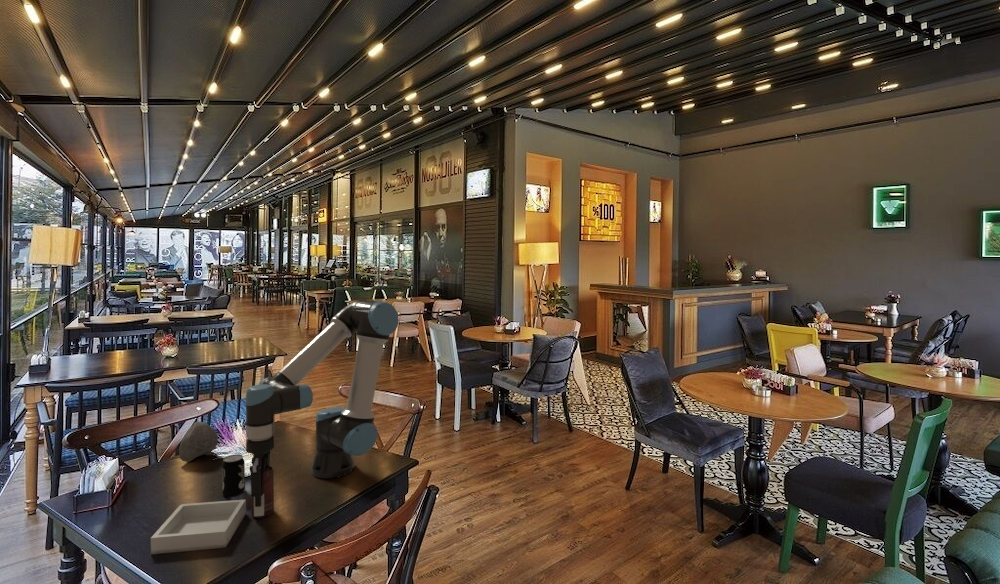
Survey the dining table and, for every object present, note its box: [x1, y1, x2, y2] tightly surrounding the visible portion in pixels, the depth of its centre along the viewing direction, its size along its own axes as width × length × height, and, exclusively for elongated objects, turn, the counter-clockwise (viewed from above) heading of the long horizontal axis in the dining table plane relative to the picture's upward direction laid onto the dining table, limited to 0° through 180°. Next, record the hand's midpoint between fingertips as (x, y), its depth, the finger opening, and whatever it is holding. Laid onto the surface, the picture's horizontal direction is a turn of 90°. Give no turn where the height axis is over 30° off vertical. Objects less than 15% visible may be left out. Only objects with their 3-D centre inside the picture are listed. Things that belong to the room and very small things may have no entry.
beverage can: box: [221, 454, 246, 498], centre depth 163 cm, size 7×7×12 cm
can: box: [250, 466, 275, 519], centre depth 150 cm, size 6×6×14 cm
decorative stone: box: [178, 421, 219, 463], centre depth 190 cm, size 15×10×15 cm
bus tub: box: [150, 499, 247, 555], centre depth 139 cm, size 18×18×4 cm
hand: (260, 512), depth 149 cm, fingers open, 3 cm apart
